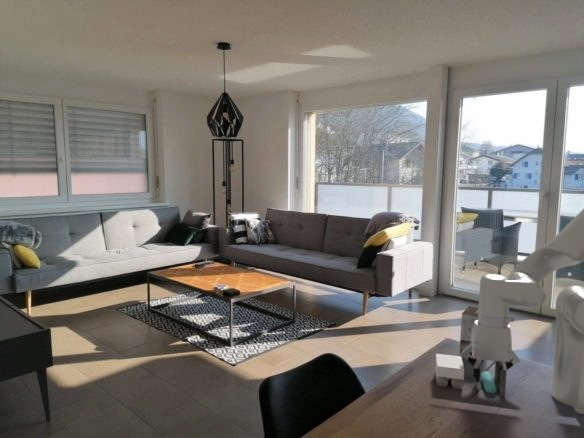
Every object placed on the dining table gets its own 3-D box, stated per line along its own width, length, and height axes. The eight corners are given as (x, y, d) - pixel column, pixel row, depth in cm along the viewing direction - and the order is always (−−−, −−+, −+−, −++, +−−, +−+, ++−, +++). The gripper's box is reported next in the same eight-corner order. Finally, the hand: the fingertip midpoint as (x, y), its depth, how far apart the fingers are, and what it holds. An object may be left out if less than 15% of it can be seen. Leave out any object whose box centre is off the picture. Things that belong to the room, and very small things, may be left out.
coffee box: (479, 366, 135) (482, 317, 133) (458, 360, 139) (461, 312, 136) (486, 355, 142) (489, 309, 140) (466, 350, 146) (469, 304, 144)
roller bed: (498, 384, 124) (500, 358, 123) (504, 401, 116) (506, 373, 115) (432, 375, 129) (434, 350, 128) (434, 391, 120) (435, 364, 119)
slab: (460, 366, 126) (461, 356, 126) (463, 379, 118) (464, 369, 118) (435, 363, 128) (435, 353, 127) (436, 376, 120) (437, 366, 120)
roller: (480, 380, 125) (481, 370, 124) (491, 382, 124) (492, 372, 123) (484, 392, 118) (485, 382, 117) (496, 394, 117) (497, 384, 117)
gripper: (523, 317, 119) (518, 379, 122) (458, 311, 124) (454, 371, 126) (530, 328, 112) (525, 393, 115) (460, 321, 117) (457, 384, 119)
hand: (488, 380), depth 121 cm, fingers open, 5 cm apart
